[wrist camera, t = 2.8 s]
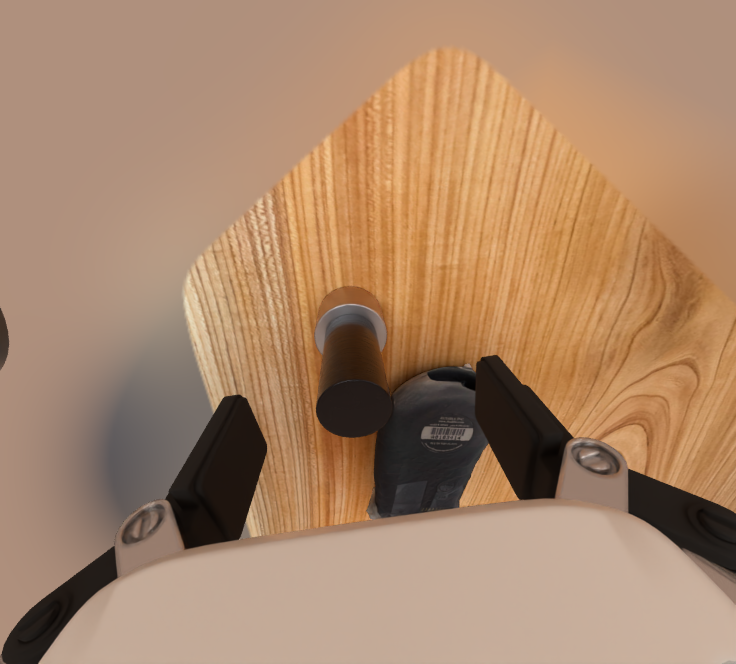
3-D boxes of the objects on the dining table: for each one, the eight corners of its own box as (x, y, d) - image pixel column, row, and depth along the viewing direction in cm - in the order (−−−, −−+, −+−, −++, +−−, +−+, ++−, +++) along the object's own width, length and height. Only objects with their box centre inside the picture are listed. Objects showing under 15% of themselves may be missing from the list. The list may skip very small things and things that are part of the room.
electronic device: (456, 474, 30) (513, 367, 21) (468, 535, 25) (546, 431, 17) (368, 462, 30) (389, 351, 21) (363, 521, 25) (387, 410, 17)
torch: (310, 333, 20) (288, 436, 12) (329, 276, 18) (318, 352, 10) (367, 350, 21) (382, 456, 13) (391, 298, 19) (425, 383, 11)
